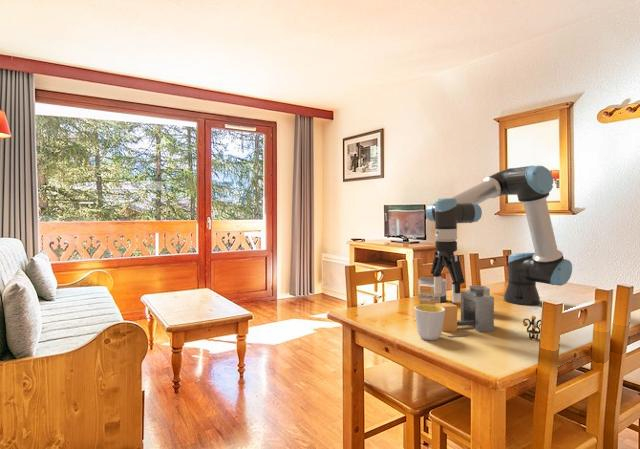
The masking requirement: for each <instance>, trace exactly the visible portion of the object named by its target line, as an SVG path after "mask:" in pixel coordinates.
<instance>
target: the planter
mask: <svg viewBox="0 0 640 449" xmlns="http://www.w3.org/2000/svg"><path fill="white" fill-rule="evenodd" d="M441 282H442V293H440V303H444V302H445V301H446V300H447V279H446V278H443V277H441ZM420 284H429V285H434V276H432V277H431V276H427V277H426V276H425V277H419V278H418V293H417V294H418V295H417V296H418V299H419V297H420Z"/></svg>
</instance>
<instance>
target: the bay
mask: <svg viewBox="0 0 640 449" xmlns="http://www.w3.org/2000/svg"><path fill="white" fill-rule="evenodd" d="M447 337H448V338H457V337H458V338H459V337H460V338H461V337H468V334H454V335H447Z"/></svg>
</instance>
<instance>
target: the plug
mask: <svg viewBox="0 0 640 449" xmlns="http://www.w3.org/2000/svg"><path fill="white" fill-rule="evenodd" d="M435 305H437V306H441V307H443V308H445V315H444V321H443V327H442V332H451V331H453V332H454V331H458V327H460V326H461V327H462V326H474V325H475V320H472V321H461V320H459V321H458V305H456V304H454V303H453V302H441V303H435Z"/></svg>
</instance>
